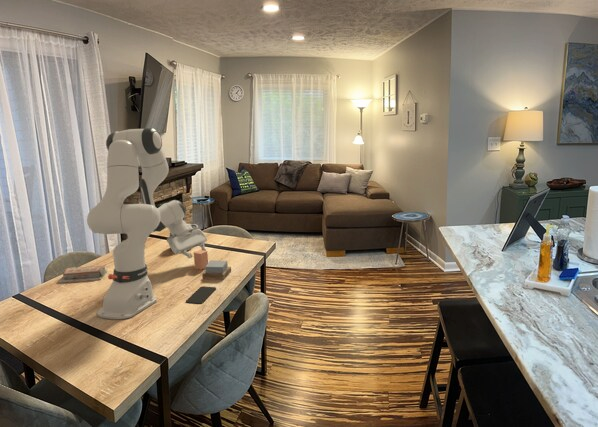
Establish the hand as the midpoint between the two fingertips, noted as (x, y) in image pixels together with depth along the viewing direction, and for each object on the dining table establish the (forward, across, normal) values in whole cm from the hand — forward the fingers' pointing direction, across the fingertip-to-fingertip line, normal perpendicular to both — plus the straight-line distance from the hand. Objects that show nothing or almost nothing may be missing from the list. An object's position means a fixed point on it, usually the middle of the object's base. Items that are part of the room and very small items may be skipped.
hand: (197, 254), depth 194 cm
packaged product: (-22, -35, +32) cm, 52 cm away
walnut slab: (+15, -4, -6) cm, 17 cm away
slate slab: (+13, -4, -8) cm, 16 cm away
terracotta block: (+6, 0, +3) cm, 7 cm away
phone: (+22, -24, -12) cm, 34 cm away
